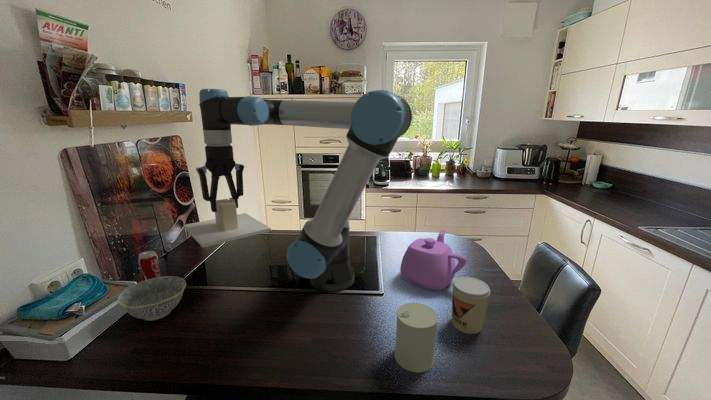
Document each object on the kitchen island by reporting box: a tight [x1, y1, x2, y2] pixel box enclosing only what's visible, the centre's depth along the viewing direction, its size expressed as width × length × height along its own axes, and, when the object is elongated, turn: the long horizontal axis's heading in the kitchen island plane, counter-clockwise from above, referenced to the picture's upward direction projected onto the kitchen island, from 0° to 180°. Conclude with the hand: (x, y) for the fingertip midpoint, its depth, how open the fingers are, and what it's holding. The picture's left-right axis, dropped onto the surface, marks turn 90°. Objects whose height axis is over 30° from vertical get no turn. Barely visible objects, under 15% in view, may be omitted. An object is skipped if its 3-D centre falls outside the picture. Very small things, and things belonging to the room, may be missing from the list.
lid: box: [183, 198, 272, 248], centre depth 94 cm, size 20×20×9 cm
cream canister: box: [451, 276, 491, 335], centre depth 80 cm, size 9×9×12 cm
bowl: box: [116, 275, 187, 322], centre depth 84 cm, size 16×16×8 cm
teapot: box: [399, 230, 467, 291], centre depth 103 cm, size 23×21×15 cm
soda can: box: [137, 250, 162, 282], centre depth 97 cm, size 5×5×12 cm
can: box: [394, 302, 439, 374], centre depth 68 cm, size 9×9×12 cm
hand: (226, 219), depth 94 cm, fingers closed on lid, 4 cm apart
